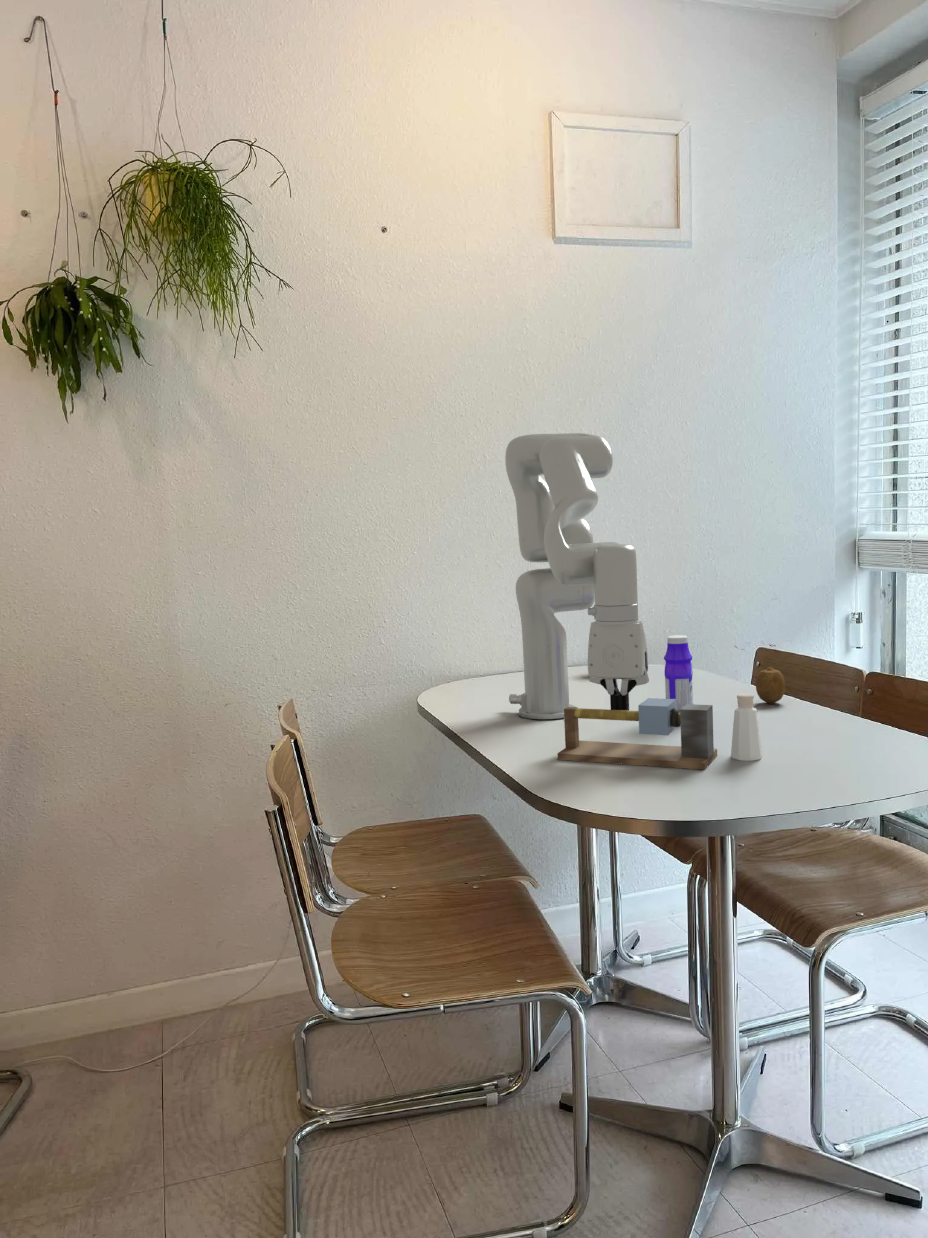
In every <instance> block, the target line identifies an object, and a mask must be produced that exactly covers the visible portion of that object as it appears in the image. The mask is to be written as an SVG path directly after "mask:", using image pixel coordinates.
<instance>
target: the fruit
mask: <svg viewBox="0 0 928 1238" xmlns="http://www.w3.org/2000/svg"><path fill="white" fill-rule="evenodd" d="M782 673H783V672H781V671H780V670H778V669H774V668H773V667H772V666H769V667H767V668H766V669H762V670H761V671H759V673H758V674H757V677H756V680H755V690H756V693H757V696H758V697H759V699H760V700H761V701H763V702H764V703H767V704H769V705H773V704H775V703H777V702H779V701H780V700H782V698H783V697H784V694H785V691H786V681H785V678H784V675H783V674H782Z"/></svg>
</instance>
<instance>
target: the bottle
mask: <svg viewBox="0 0 928 1238" xmlns="http://www.w3.org/2000/svg"><path fill="white" fill-rule="evenodd" d="M666 638H667V641H666V642H667V643H666V644H667V645H666V646H667V648H666V652H665V655H664V657H663V660H664V661H665V665H664V677H665V678H664V679H665V680H664V685H665V688H664V689H665V691H664V692H665V699H676V700H677V709H681V708H682V707H683V706H685V705H686V704H694V693H693V675H694V674H693V673H694V671H693V665H692V662H691V661H692V660H693V656H692V654H691V652H690V650H689V641H688V640H689V639H688V636H687V635H683V634H675V635H669V636H667V637H666Z"/></svg>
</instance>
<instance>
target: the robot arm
mask: <svg viewBox="0 0 928 1238" xmlns="http://www.w3.org/2000/svg"><path fill="white" fill-rule="evenodd" d="M505 449H506V450H505V456H504V457H505V459H504V460H505V462H504V463H505V470H506V475H507V478H508V481H509V484H510V487H511V489H512V491H513V496H514V498H515V504H516V505H515V506H516V508H515V509H516V520H517V521H516V522H517V533H518V545H519V551H520V555H521V557H522V558H523V559H524V560H525V561H527V562H529V563H548V564H549V568H548V567H547V568H536V569H531V570H527V571H526V572H523V573H521V574H520V576H519V577H517V579H516V582H515V596H516V601H517V606H518V611H519V617H520V623H521V638H522V641H521V642H522V656H523V657H522V658H523V679H524V680H523V681H524V693H521V694H517V693H514V694H513V693H512V694H509V697H508V702H509V704H512V705H520V706H521V707H520V708H519V709H518V715H519V716H520V717H521V718H526V719H530V720H531V719H532V720H556V719H564V708H566V707H576V706H575V705H573V704H570V692H569V691H570V688H569V669H568V663H569V662H568V645H567V644H568V643H567V641H568V640H567V633H566V629H565V628H564V626H563V625H562V623H561V622H560V621H559V620H558V618H556V616H555V614H556V613H563V612H573V611H574V612H575V611H583V610H587V615H588V616H592V617H593V618H594V621H592V622H590V627H589V633H588V634H589V635H588V645H587V647H588V648H587V673H588V675H589V679H588V680H589V682H590V683H592V684H597V685H600V686H602V687H603V688H604V689H605V690H606V692H607V694H608V695H610V696H609V699H610V710H629V711H630V693H631V692H632V691H633V689H634V688H635V687H637V686H642V685H646V684H648V683H649V682H650V678H649V675H648V674H649V673H648V672H649V671H648V670H649V660H648V659H649V658H648V657H649V656H648V648H647V646H648V645H647V640H646V635H645V634H646V633H645V630H644V624H643V622H642V620H639V603H638V601H639V600H638V599H639V598H638V597H639V596H638V573H637V572H638V569H637V552H636V549H635V547H634V546H632V545H630V544H627V543H626V544H624V543H621V544H620V543H619V542H614V541H604V542H603V541H601V542H594V535H593V533H592V528H591V527H590V524H589V522H587V520H586V519H584V517H586V516H588V515H589V514H590V513H592V512H593V511H594V509H595V508H596V507H597V505H598V502H599V496H598V492H597V489H596V487H595V485H594V482H593V479H603V478H605V477H607V476H608V475H609V474H610V472H611V470H612V468H613V462H614V461H613V459H614V458H613V453H612V452H613V451H612V449H611V447H610V445H609V443H608V442H607V440H606V439H605V438H603V437H602V436H600V435H593V434H589V433H588V434H587V433H581V432H575V433H574V432H573V433H572V432H568V433H534V434H531V433H530V434H524V435H520V436H516V437H514V438H513V439H511V441H509V443H508V444H507V446H506V448H505ZM541 476H543V477H544V478H543V477H541ZM618 680H621V684H620V689H619V686H618Z"/></svg>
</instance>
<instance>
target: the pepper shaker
mask: <svg viewBox="0 0 928 1238" xmlns="http://www.w3.org/2000/svg"><path fill="white" fill-rule="evenodd" d="M736 699H737V707H736V708H735V709H734V711H733V712H734V714H733V725H732V726H733V728H732V737H731V750H730V758H731V759H733V760H736V761H743V762H754V761H760V760H761V759H762V757H763V749H762V741H761V734H760V726H759V719H758V711H757V708H756V707H754V695H753V694H752V693H749V692H748V693H746V692H745V693H744V692H743V693H739V694H737V695H736Z"/></svg>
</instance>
